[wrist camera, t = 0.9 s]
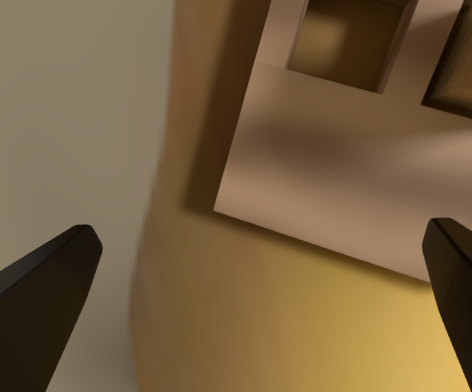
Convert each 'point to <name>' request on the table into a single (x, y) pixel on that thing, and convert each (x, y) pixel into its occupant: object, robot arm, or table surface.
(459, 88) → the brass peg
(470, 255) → the robot arm
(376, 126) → the two-hole peg block
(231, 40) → the table surface
